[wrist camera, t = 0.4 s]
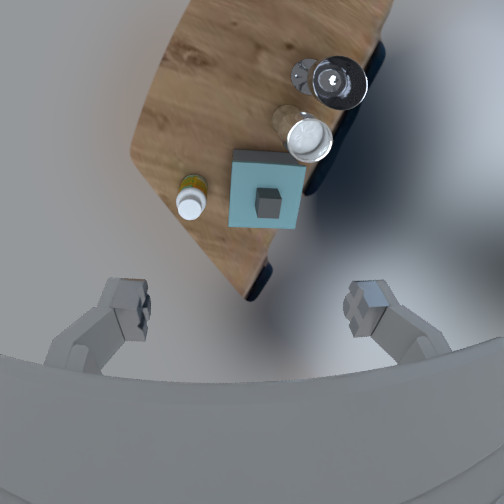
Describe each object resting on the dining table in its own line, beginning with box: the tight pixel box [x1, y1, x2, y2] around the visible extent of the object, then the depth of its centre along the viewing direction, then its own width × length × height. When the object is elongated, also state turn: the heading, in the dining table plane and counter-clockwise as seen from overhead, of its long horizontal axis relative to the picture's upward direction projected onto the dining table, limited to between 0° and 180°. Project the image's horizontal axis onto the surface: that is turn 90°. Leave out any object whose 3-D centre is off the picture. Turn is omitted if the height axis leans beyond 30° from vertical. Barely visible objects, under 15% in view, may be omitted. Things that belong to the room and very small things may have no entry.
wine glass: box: [291, 56, 367, 110], centre depth 38 cm, size 8×8×15 cm
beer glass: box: [272, 105, 333, 163], centre depth 43 cm, size 7×7×15 cm
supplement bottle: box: [176, 175, 208, 220], centre depth 52 cm, size 5×5×10 cm
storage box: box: [233, 149, 299, 165], centre depth 53 cm, size 11×11×8 cm
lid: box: [228, 160, 306, 229], centre depth 47 cm, size 12×12×5 cm
